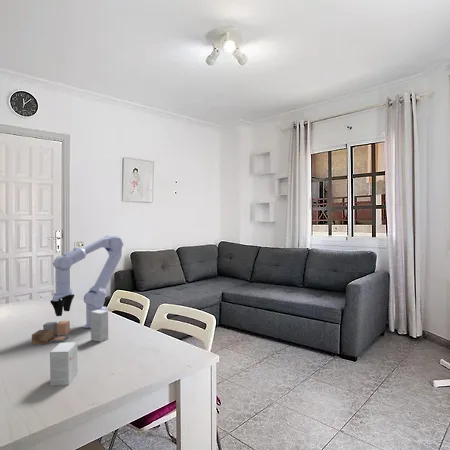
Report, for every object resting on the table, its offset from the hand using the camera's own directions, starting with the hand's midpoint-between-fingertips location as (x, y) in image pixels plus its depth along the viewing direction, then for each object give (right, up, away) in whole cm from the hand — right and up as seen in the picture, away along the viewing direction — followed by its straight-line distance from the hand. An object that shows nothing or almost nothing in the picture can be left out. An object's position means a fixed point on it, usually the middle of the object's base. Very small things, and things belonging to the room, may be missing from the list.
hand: (63, 313), depth 148 cm
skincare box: (+19, -9, -8) cm, 23 cm away
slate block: (-5, -9, -1) cm, 10 cm away
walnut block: (-4, -9, -9) cm, 14 cm away
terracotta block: (0, -9, 0) cm, 9 cm away
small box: (+21, -10, -43) cm, 49 cm away
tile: (+3, -9, -8) cm, 13 cm away
